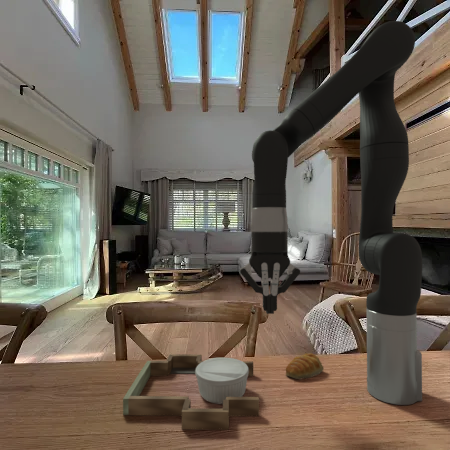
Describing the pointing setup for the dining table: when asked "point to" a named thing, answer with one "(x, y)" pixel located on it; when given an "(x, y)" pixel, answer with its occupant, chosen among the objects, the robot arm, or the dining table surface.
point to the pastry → (304, 366)
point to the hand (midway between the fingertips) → (269, 312)
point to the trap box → (185, 397)
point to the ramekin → (221, 379)
